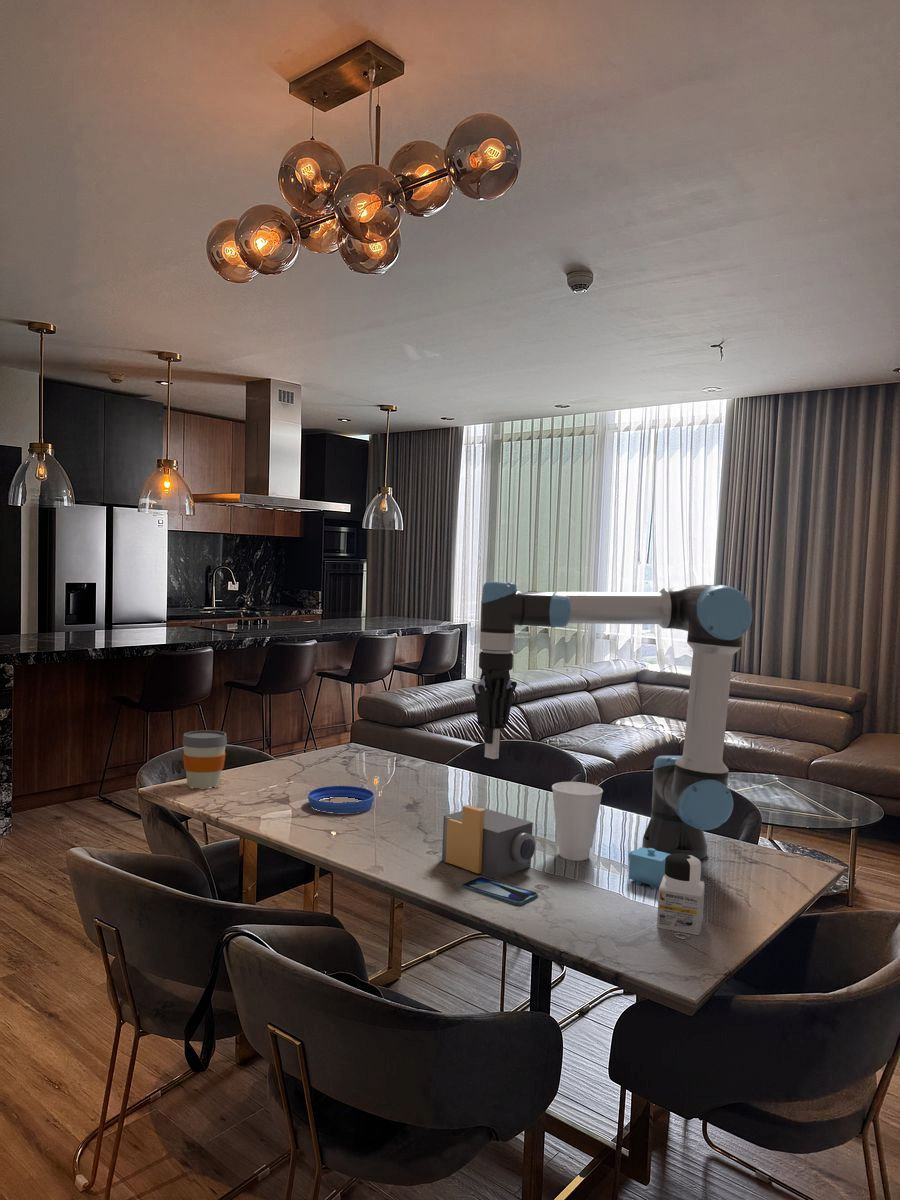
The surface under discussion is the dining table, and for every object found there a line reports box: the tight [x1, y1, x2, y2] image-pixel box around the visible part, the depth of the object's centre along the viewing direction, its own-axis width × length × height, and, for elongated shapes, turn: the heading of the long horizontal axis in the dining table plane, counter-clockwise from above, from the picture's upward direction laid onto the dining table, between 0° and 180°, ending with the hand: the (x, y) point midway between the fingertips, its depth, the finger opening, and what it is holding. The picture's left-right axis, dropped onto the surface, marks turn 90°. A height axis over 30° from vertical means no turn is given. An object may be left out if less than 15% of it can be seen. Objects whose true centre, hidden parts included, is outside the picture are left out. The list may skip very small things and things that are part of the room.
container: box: [656, 853, 705, 936], centre depth 158 cm, size 8×8×13 cm
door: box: [442, 804, 485, 875], centre depth 183 cm, size 11×2×14 cm, turn 47°
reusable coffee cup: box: [182, 729, 228, 789], centre depth 243 cm, size 12×13×15 cm
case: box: [441, 806, 536, 880], centre depth 186 cm, size 18×12×11 cm, turn 47°
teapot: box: [628, 846, 670, 890], centre depth 179 cm, size 12×6×8 cm, turn 54°
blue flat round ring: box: [307, 785, 375, 814], centre depth 229 cm, size 18×18×4 cm
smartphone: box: [461, 876, 539, 906], centre depth 171 cm, size 7×1×15 cm
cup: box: [551, 781, 604, 862], centre depth 195 cm, size 12×12×16 cm
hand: (491, 757), depth 185 cm, fingers closed
